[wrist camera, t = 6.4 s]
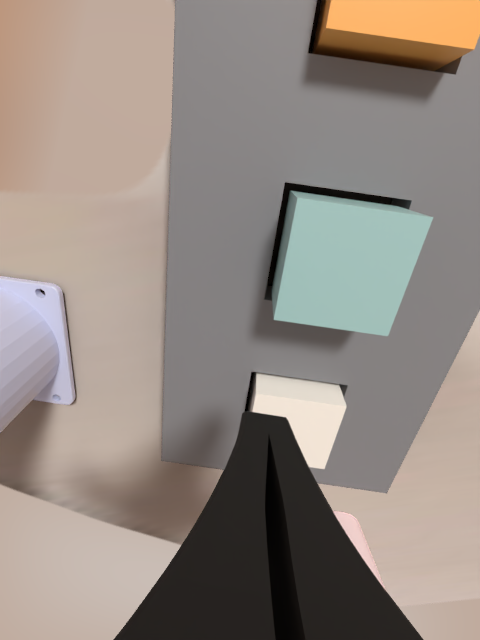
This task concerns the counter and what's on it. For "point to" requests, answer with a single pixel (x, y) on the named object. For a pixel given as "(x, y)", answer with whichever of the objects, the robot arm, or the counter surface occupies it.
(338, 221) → the teal button
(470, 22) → the orange button
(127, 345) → the counter surface
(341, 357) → the button panel
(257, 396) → the white button
